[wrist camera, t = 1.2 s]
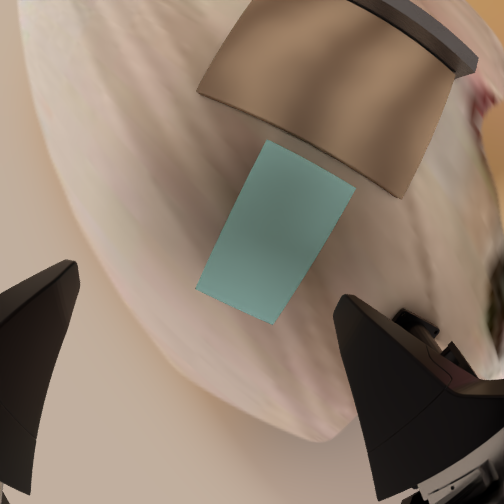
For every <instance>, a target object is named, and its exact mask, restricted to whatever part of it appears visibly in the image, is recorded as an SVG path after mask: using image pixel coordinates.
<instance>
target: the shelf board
mask: <svg viewBox="0 0 504 504" xmlns="http://www.w3.org/2000/svg"><path fill="white" fill-rule="evenodd" d="M454 78H455V74H454V73H453V72H452V71H451V70H450V69H448V68H447V67H446V66H445V65H444V64H443V63H442V62H440V61H439V60H438V59H437V58H436V57H434V56H433V55H432V54H431V53H429V52H428V51H427V50H426V49H424V48H423V47H422V46H420V45H419V44H418V43H416V42H415V41H414V40H412V39H411V38H410V37H408V36H407V35H405V34H404V33H402V32H401V31H399V30H398V29H396V28H395V27H393V26H392V25H390V24H388V23H387V22H385V21H384V20H382V19H380V18H379V17H377V16H375V15H373V14H372V13H370V12H368V11H366V10H364V9H363V8H361V7H359V6H357V5H355V4H353V3H351V2H349V1H347V0H252V1H251V3H250V4H249V5H248V7H247V8H246V10H245V11H244V12H243V14H242V15H241V17H240V18H239V20H238V21H237V23H236V24H235V26H234V27H233V29H232V30H231V32H230V33H229V35H228V36H227V38H226V39H225V41H224V43H223V44H222V46H221V48H220V49H219V51H218V53H217V54H216V56H215V58H214V59H213V61H212V63H211V64H210V66H209V68H208V70H207V72H206V73H205V75H204V77H203V79H202V81H201V82H200V84H199V86H198V88H197V90H196V92H198V93H199V94H200V95H203V96H206V97H208V98H211V99H214V100H216V101H219V102H221V103H224V104H226V105H229V106H231V107H234V108H236V109H238V110H241V111H243V112H245V113H248V114H250V115H252V116H254V117H257V118H259V119H261V120H263V121H265V122H267V123H270V124H272V125H274V126H276V127H278V128H280V129H282V130H284V131H286V132H288V133H290V134H292V135H294V136H296V137H298V138H300V139H302V140H303V141H305V142H307V143H309V144H311V145H313V146H315V147H316V148H318V149H320V150H322V151H324V152H325V153H327V154H329V155H331V156H332V157H334V158H336V159H337V160H339V161H341V162H342V163H344V164H346V165H347V166H349V167H351V168H352V169H354V170H355V171H357V172H359V173H360V174H362V175H363V176H365V177H366V178H368V179H370V180H371V181H373V182H374V183H376V184H377V185H379V186H380V187H382V188H383V189H384V190H386V191H387V192H389V193H390V194H392V195H393V196H394V197H396V198H399V199H401V200H402V198H403V196H404V194H405V192H406V190H407V188H408V186H409V184H410V182H411V180H412V178H413V176H414V174H415V172H416V170H417V168H418V166H419V164H420V162H421V160H422V158H423V156H424V154H425V151H426V149H427V147H428V145H429V143H430V140H431V138H432V136H433V133H434V131H435V129H436V126H437V124H438V121H439V119H440V116H441V114H442V111H443V109H444V106H445V104H446V101H447V98H448V95H449V93H450V90H451V87H452V84H453V81H454Z"/></svg>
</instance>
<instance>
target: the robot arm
mask: <svg viewBox="0 0 504 504" xmlns="http://www.w3.org/2000/svg"><path fill="white" fill-rule="evenodd" d="M79 289H80V279H79V272H78V265H77V263H76V262H75V261H72V260H63V261H61V262H59V263H57V264H55V265H53V266H51V267H49V268H47V269H45V270H43V271H41V272H39V273H37V274H35V275H33V276H32V277H30V278H28V279H26V280H24V281H22V282H20V283H19V284H17V285H15V286H13V287H11V288H9V289H8V290H6V291H4V292H2V293H1V294H0V504H9V502H8V500H7V498H6V496H5V495H4V493H3V491H2V490H3V483H4V484H6V485H8V486H10V487H12V488H14V489H16V490H18V491H20V492H23V493H25V494H27V495H30V492H31V478H32V468H33V459H34V452H35V446H36V438H37V433H38V428H39V423H40V418H41V414H42V409H43V405H44V401H45V397H46V393H47V390H48V386H49V382H50V379H51V376H52V372H53V369H54V366H55V363H56V360H57V357H58V354H59V351H60V348H61V346H62V343H63V340H64V337H65V335H66V332H67V329H68V326H69V322H70V319H71V316H72V312H73V309H74V305H75V302H76V299H77V295H78V293H79ZM404 313H405V314H404ZM402 314H404V315H402ZM333 320H334V324H335V329H336V334H337V339H338V344H339V349H340V353H341V357H342V360H343V364H344V367H345V370H346V374H347V377H348V381H349V384H350V388H351V391H352V395H353V398H354V402H355V406H356V409H357V413H358V417H359V421H360V425H361V428H362V432H363V436H364V440H365V445H366V449H367V452H368V458H369V462H370V467H371V471H372V476H373V481H374V485H375V491H376V496H377V499H378V501H381V500H384V499H386V498H389V497H391V496H394V495H396V494H398V493H401V492H403V491H405V490H407V489H409V488H413V489H418V488H419V490H420V491H418V492H416V493H414V494H413V495H411V496H409V497H407V498H405V499H403V500H402V502H401V504H504V379H499V380H482V379H479V378H478V377H477V375H476V374H475V372H474V371H473V369H472V368H471V366H470V365H469V363H468V362H467V361H466V359H465V358H464V356H463V355H462V354H461V352H460V351H459V350H458V348H457V347H456V346H455V344H454V343H453V342H452V341H451V342H450V343H449V344H448V347H447V348H446V349H444V350H443V351H442V350H441V349H440V347H439V346H438V344H437V343H436V341H435V340H434V338H435V337H436V336H437V335H438V333H439V331H440V330H439V328H438V327H437V326H435V325H433V324H432V323H430V322H428V321H426V320H424V319H423V318H421V317H419V316H417V315H415V314H413V313H412V312H410V311H408V310H406V309H402V310H400V311H399V312H398V314H397V315H396V316H395V318H394V319H393V320H392V321H391V320H390V319H389V318H387V317H386V316H384V315H383V314H381V313H380V312H378V311H377V310H375V309H374V308H372V307H371V306H370V305H368V304H367V303H365V302H364V301H362V300H361V299H359V298H358V297H356V296H355V295H351V294H344V295H342V296H341V298H340V300H339V302H338V304H337V306H336V308H335V310H334V313H333Z"/></svg>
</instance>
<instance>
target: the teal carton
mask: <svg viewBox="0 0 504 504" xmlns="http://www.w3.org/2000/svg"><path fill="white" fill-rule="evenodd" d="M355 189H356V188H355V187H353V186H352V185H350V184H348V183H347V182H345V181H343V180H342V179H340V178H338V177H337V176H335V175H333V174H331V173H330V172H328V171H326V170H325V169H323V168H321V167H319V166H317V165H316V164H314V163H312V162H310V161H308V160H307V159H305V158H303V157H301V156H299V155H297V154H295V153H293V152H291V151H289V150H288V149H286V148H284V147H282V146H280V145H278V144H276V143H274V142H272V141H269V140H266V142H265V144H264V146H263V148H262V150H261V152H260V154H259V156H258V158H257V160H256V162H255V164H254V166H253V168H252V170H251V172H250V174H249V176H248V178H247V180H246V182H245V184H244V186H243V188H242V190H241V192H240V194H239V196H238V198H237V200H236V202H235V204H234V206H233V208H232V210H231V212H230V214H229V217H228V219H227V221H226V223H225V225H224V227H223V229H222V231H221V233H220V236H219V238H218V240H217V242H216V244H215V246H214V248H213V251H212V253H211V255H210V257H209V259H208V261H207V264H206V266H205V268H204V270H203V273H202V275H201V277H200V279H199V281H198V284H197V286H196V288H195V289H196V290H198V291H200V292H202V293H204V294H207V295H209V296H211V297H213V298H215V299H217V300H219V301H221V302H223V303H225V304H227V305H230V306H232V307H234V308H236V309H238V310H240V311H243V312H245V313H247V314H249V315H251V316H254V317H256V318H258V319H260V320H263V321H265V322H267V323H269V324H272V325H273V324H274V323H275V321H276V320H277V318H278V317H279V315H280V314H281V312H282V311H283V309H284V307H285V306H286V304H287V303H288V301H289V300H290V298H291V297H292V295H293V294H294V292H295V291H296V289H297V287H298V286H299V284H300V283H301V281H302V279H303V278H304V276H305V275H306V273H307V271H308V270H309V268H310V267H311V265H312V263H313V262H314V260H315V258H316V257H317V255H318V254H319V252H320V250H321V249H322V247H323V245H324V244H325V242H326V240H327V239H328V237H329V235H330V233H331V232H332V230H333V228H334V227H335V225H336V223H337V221H338V220H339V218H340V216H341V214H342V213H343V211H344V209H345V207H346V206H347V204H348V202H349V200H350V198H351V197H352V195H353V193H354V191H355Z"/></svg>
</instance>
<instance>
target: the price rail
mask: <svg viewBox="0 0 504 504" xmlns="http://www.w3.org/2000/svg"><path fill="white" fill-rule="evenodd" d="M347 1H349V2H351V3H353V4H355V5H357V6H359V7H361V8H363V9H364V10H366V11H368V12H370V13H372V14H373V15H375V16H377V17H379V18H380V19H382V20H384V21H385V22H387V23H388V24H390V25H392V26H393V27H395V28H396V29H398V30H399V31H401V32H402V33H404V34H405V35H407V36H408V37H410V38H411V39H412V40H414V41H415V42H416V43H418V44H419V45H420V46H422V47H423V48H424V49H426V50H427V51H428V52H429V53H431V54H432V55H433V56H434V57H436V58H437V59H438V60H439V61H440V62H442V63H443V64H444V65H445V66H446V67H447V68H448V69H450V70H451V71H452V72H453V73H454V74H455V78H454V79H456V78H459V77H462V76H465V75H469V74H472V73H475V71H476V67H477V63H478V57H477V56H476V55H475V54H474V53H473V52H472V51H471V50H470V49H469V48H468V47H467V46H466V45H465V44H464V43H463V42H462V41H461V40H460V39H459V38H457V37H456V36H455V35H454V34H453V33H452V32H451V31H449V30H448V29H447V28H446V27H445V26H443V25H442V24H441V23H440V22H438V21H437V20H436V19H435V18H433V17H432V16H431V15H429V14H428V13H427V12H425V11H424V10H422V9H421V8H420V7H418V6H417V5H415V4H414V3H412V2H411V1H409V0H347Z"/></svg>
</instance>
